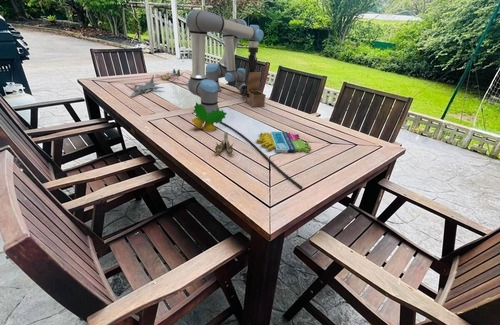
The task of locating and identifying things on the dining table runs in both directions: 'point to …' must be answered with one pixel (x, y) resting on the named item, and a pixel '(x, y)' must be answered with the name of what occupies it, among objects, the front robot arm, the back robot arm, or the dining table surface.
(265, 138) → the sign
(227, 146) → the jawbone
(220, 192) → the dining table surface
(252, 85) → the lid
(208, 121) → the ornament
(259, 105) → the chest
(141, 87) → the airplane
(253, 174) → the dining table surface
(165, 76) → the toy
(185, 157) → the dining table surface
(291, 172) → the dining table surface
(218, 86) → the back robot arm
